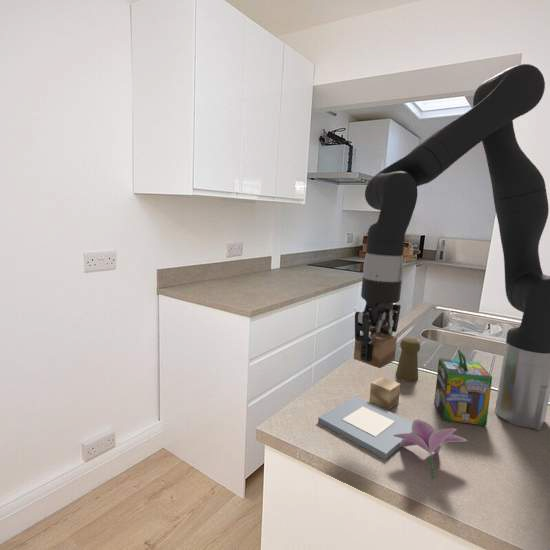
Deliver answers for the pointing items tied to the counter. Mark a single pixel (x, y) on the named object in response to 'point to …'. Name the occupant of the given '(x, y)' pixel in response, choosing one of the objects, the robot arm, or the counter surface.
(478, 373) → the chalk box
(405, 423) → the board
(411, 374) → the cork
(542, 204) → the robot arm
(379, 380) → the oak cube
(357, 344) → the walnut block
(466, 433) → the counter surface
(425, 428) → the lily
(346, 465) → the counter surface
